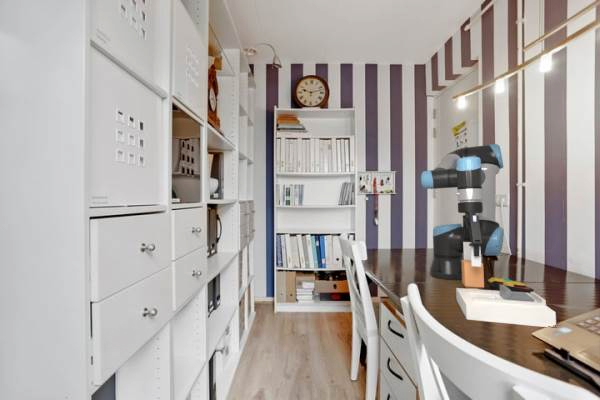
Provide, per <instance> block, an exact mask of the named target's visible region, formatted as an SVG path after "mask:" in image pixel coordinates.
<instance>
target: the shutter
mask: <svg viewBox="0 0 600 400" xmlns="http://www.w3.org/2000/svg"><path fill="white" fill-rule="evenodd" d="M500 296H501V297H502V298H503V299H504V300H517V301H531V302H534V299H533V298H532V297H530V296H529V295H528V294H526V293H520V292H511V290H510V289H509V288H507V287H506V286H505V285H500Z"/></svg>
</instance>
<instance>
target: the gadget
mask: <svg viewBox="0 0 600 400" xmlns="http://www.w3.org/2000/svg"><path fill="white" fill-rule="evenodd" d="M485 284H487V285H489V290H494V291H500V285H505V286H506V287H507V288H509V289H510V290H511V292H524V293H529V294H530V292H534V290H535V289H534V288H532V287H529V286H527V285H526V284H525V283H524V282H519V281H515V280H511V279H509V278H505V277H501V278H498V277H494V276H492V277H491V278H489V279H486V280H485Z"/></svg>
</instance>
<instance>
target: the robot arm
mask: <svg viewBox="0 0 600 400" xmlns="http://www.w3.org/2000/svg"><path fill="white" fill-rule="evenodd" d="M503 168H504V162H503V156H502V151H501V147H500V145H499V144H497V143H495V144H486V145H485V144H484V145H475V146H470V147H469V146H468V147H461V148H458V149H455V150H453V151H451V152H449V153H447V154H445V155H444V157H443V158H442V159H441V162H440V163H439V164H438V165H437V166H435V167H434V169H432V170H430V169H428V170H424V171H422V173H421V175H420V183H421V187H422V188H423V189H426V190H433V189H434V190H435V189H438V190H439V189H451V188H453V189H455V188H457V191H456V192H455V195H456V196H457V201H459V202H458V203H457V212H458V213H459V214H463V215H462V223H449V224H441V225H436V226H434V228H433V230H432V246H433V260H432V263H431V266H430V269H429V276H431V275H432V276H431V277H433V276H434V278H438V279H442V280H443V279H444V280H462V263H461V260H471V266H477V267H481V262H482V256H499V255H500V254H501V253H502V251H503V246H504V245H503V244H504V235H505V231H504V228H503V227H501V226H500V223H499V222H498V221H497V220H496V186H497V185H496V181H497V180H496V177H497V175H498V174H499V173H500V170H501V169H503Z"/></svg>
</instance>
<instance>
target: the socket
mask: <svg viewBox="0 0 600 400" xmlns="http://www.w3.org/2000/svg"><path fill="white" fill-rule="evenodd" d="M455 291H456V292H455V293H456V294H455V296H456V302H457V304H458V306H459V307H460V310H461V311H462V313H463V315H464V318H465V319H466V320H469V321H479V322H480V321H481V322H490V323H499V324H508V325H509V324H510V325H511V324H512V325H520V326H530V327H531V326H532V327H541V328H549V327H548V326H553V325H556V326H557V314H556V311H554V310H553V309H551V308H550V307H549V306H547V303H546V302H547V301H546V299H545V298H543V297H542V296H541V295H539V294H537V293H536V292H534V291H533V292H530V293H526V294H528V295H529V296H530V297H532V298H533V299H534V302H531V301H517V300H504V299H503V298H502V297H501V296H500V291H494V290H491V289H480V290H479V289H466V288H463V287H462V288H461V287H460V288H459V287H456V288H455ZM520 293H524V292H520Z"/></svg>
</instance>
